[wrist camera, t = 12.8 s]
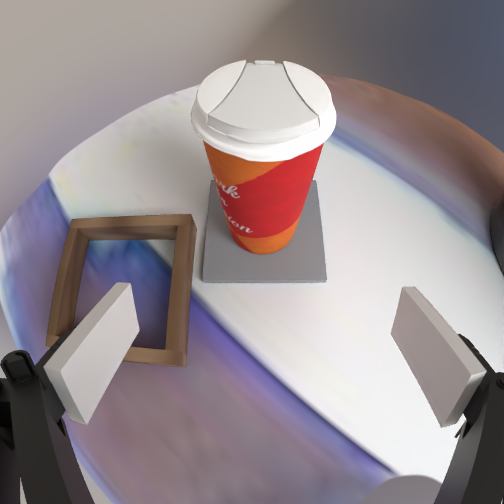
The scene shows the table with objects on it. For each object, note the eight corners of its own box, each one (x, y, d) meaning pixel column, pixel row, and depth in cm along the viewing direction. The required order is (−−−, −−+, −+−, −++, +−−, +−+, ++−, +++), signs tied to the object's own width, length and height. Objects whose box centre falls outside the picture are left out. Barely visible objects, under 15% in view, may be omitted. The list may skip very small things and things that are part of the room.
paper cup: (221, 188, 28) (200, 56, 15) (304, 191, 28) (328, 58, 15) (213, 267, 25) (171, 141, 12) (308, 270, 24) (354, 146, 12)
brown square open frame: (196, 228, 27) (191, 214, 25) (186, 367, 22) (178, 364, 20) (83, 231, 27) (72, 219, 25) (61, 350, 22) (45, 346, 20)
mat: (315, 184, 29) (316, 180, 28) (325, 282, 25) (326, 279, 24) (212, 184, 29) (211, 180, 28) (203, 282, 25) (202, 279, 24)
